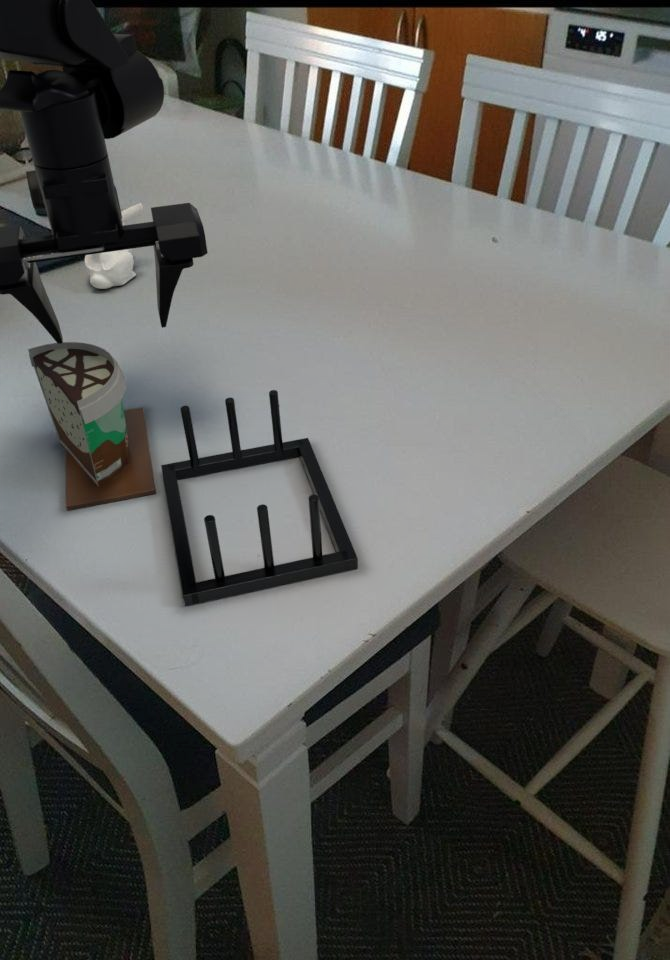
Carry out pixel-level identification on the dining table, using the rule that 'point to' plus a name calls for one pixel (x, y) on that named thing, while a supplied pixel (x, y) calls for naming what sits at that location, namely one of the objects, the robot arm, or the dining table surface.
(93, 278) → the white sculpted figure
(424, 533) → the dining table surface
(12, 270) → the robot arm
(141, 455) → the walnut board
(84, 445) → the food container
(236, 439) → the drying rack
